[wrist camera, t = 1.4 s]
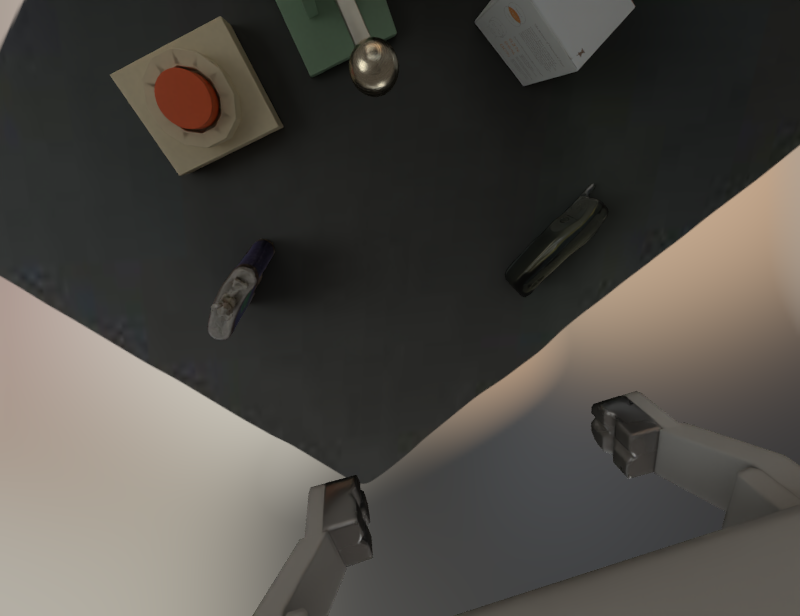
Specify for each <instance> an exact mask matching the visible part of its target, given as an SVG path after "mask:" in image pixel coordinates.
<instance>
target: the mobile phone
mask: <svg viewBox="0 0 800 616" xmlns="http://www.w3.org/2000/svg"><path fill="white" fill-rule="evenodd" d="M594 188H595V185H594V184H591V185H589V187H588V188H587V189H586V190H585V191H584V192H583V194H582V195H581V196H580V197H579V198H578V199H577V200H576V201H575V202H574V203H573V205H572V206H571V207H569V208H568V209H567V210H566V211H565V212H564V213H563V214H562V215H561V216H560V217H558V218H557V219H556V220H554V221H553V222H552V223H551V224H550V225H549V227H548V228H547V229H546V230H545V231H544V232H543V233H542V234H541V235H540V236H539V237H538V238H537V239H536V240H534V241H533V242H532V243H531V244H530V245H529V246H528V247H527V249H526V250H525V251H524V252H523V253H522V254H521V255H520V256H519V257H518V258H517V259H516V260H515V261H514V262H513V263H512V264H511V265H510V266H509V268H508V269H507V271H506V273H505V277H506V280H507V281H508V282H509V283H510V285H511V286H512V287H513V288H514V289H515V290H516V291H517V292H518V293H519V294H520V295H521V296H523V297H526V296H528V295H530V294H531V293H532V292H533V290H534V289H535V288H536V287H537V286H538V285H539V284H540V283H541V282H542V281H543V280H544V279H545V278H546V277H547V276H549V275H550V274H551V273H552V272H553V271H554V270H555V269H556V268H557V267H558V266H559V265H560V264H561V263H562V262H563V261H564V260H565V259H566V258H567V257H568V256H570V255H571V254H573V253H574V252H575V251H576V250H577V249H579V248H580V247H581V246H582V245H584V244H585V243H586V242H588V241H589V240H590V239H591V238H592V237H593V236H594V235H595V234H596V232H597V231H598V229H599V227H600V226H601V224H602V223H603V221H604V220H605V219H606V217H607V216H608V209H607V207H606V206H605V205H604V204H603V203H602V202H601V201H600V200H598V199H595V198H590V197H589V194H590V193H591V192H592V191H593V189H594Z"/></svg>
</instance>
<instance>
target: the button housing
mask: <svg viewBox="0 0 800 616" xmlns="http://www.w3.org/2000/svg"><path fill="white" fill-rule="evenodd" d="M169 68H183V69H186V70H189V71H191V72H194V73H196V74H198V75H200V76H202V77H203V78H204V79H206V80H207V81H208V82H209V84H210V85H211V86H212V88H213V89H214V91H215V93H216V95H217V98H218V103H219V112H218V116H217V118H216V120H215V121H214V123H213V124H212V125H210V126H209V127H207V128H203V129H186V128H182V127H179V126H177V125H175V124H173V123H172V122H171V121H169V120H168V119H167V118H166V117H165V116H164V115H163V113H162V112H161V110H160V109H159V107H158V105H157V102H156V99H155V93H154V87H155V82H156V80H157V78H158V76H159V75H160V74H161V73H162V72H163V71H165V70H167V69H169ZM110 76H111V77H112V79H113V80H114V82H115V83H116V85H117V86H118V88H119V89H120V90H121V92H122V93H123V95H124V96H125V98H126V99H127V101H128V102H129V103H130V105H131V106H132V108H133V109H134V111H135V112H136V113H137V115H138V116H139V118H140V119H141V121H142V122H143V124H144V125H145V126H146V128H147V129H148V131H149V132H150V134H151V135H152V137H153V138H154V139H155V141H156V142H157V144H158V145H159V147H160V148H161V150H162V151H163V152H164V154H165V155H166V157H167V158H168V160H169V161H170V163H171V164H172V165H173V167H174V168H175V170H176V171H177V173H178V174H179V175H180V176H181V175H185V174H189V173H192V172H194V171H196V170H198V169H200V168H202V167H204V166H206V165H208V164H210V163H212V162H214V161H216V160H218V159H220V158H222V157H224V156H226V155H228V154H230V153H232V152H234V151H236V150H238V149H240V148H242V147H244V146H246V145H248V144H250V143H252V142H255V141H257V140H259V139H261V138H263V137H265V136H267V135H269V134H271V133H273V132H275V131H277V130H279V129H281V128H283V125H282V123H281V121H280V119H279V117H278V115H277V113H276V111H275V109H274V107H273V105H272V103H271V101H270V100H269V98H268V96H267V94H266V92H265V90H264V88H263V86H262V84H261V82H260V80H259V78H258V76H257V75H256V73H255V71H254V69H253V67H252V65H251V63H250V61H249V59H248V57H247V55H246V53H245V51H244V50H243V48H242V46H241V44H240V42H239V40H238V38H237V36H236V34H235V32H234V30H233V28H232V27H231V25H230V24H229V23H228V22H227V21H226V20H224V19H223V18H222V17H221V16H220V17H218V18H216V19H214V20H212V21H210V22H208V23H207V24H205V25H203V26H201V27H199V28H197V29H195V30H193V31H191V32H190V33H188V34H186V35H184V36H182V37H180V38H178V39H176V40H175V41H173V42H171V43H169V44H167V45H165V46H163V47H161V48H159V49H158V50H156V51H154V52H152V53H150V54H148V55H146V56H144V57H143V58H141V59H139V60H137V61H135V62H133V63H131V64H129V65H127V66H126V67H124V68H122V69H120V70H118V71H116V72H114V73H112V74H111V75H110Z"/></svg>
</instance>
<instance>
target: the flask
mask: <svg viewBox="0 0 800 616" xmlns="http://www.w3.org/2000/svg"><path fill="white" fill-rule="evenodd" d="M274 253H275V249H274V246H273V243H271V242H270V241H268V240H266V239H260V240H257V241H256V242H255V243H254V244H253V245H252V246H251V247H250V249H249V251H248V252H247V253H246V255H245V257H244V258H243V259H242V260H241V262H240V263H239V264H238V265H237V266H236V267H235V269H234V270H233V271H232V272H231V273H230V275H229V276H228V278H227V279H226V280H225V282H224V283H223V284H222V286H221V288H220V290H219V292H218V294H217V296H216V298H215V301H214V303H213V305H212V306H211V308H212V309H211V313H210V317H209V321H208V333H209V334H210V335H211V336H212V337H213V338H215V339H216V340H225V339H228V338H229V337H230V336H231V334H232V333H233V331H234V329H235V327H236V325H237V324H238V322H239V320H240V318H241V317H242V315H243V313H244V312H245V310H246V308H247V307H248V305H249V304H250V303H251V301H252V298H253V296H254V294H255V293H254V292H255V289H256V287H257V285H259V283H260V281H261V279H262V273H263V271H264V270H265V269H266V267H267V264H268V263H269V261H270V260H271V258H272V257H273V254H274Z"/></svg>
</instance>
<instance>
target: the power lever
mask: <svg viewBox="0 0 800 616" xmlns="http://www.w3.org/2000/svg"><path fill="white" fill-rule="evenodd" d="M335 2H336V5H337V7H338V9H339V12H340V14H341V16H342V19H343V21H344V23H345V25H346V28H347V30H348V32H349V35H350V37H351V39H352V42H353V44H354V46H355V47H354V48H353V50H352V52H351V55H350V59H349V72H350V76H351V79H352V81H353V83H354V85H355V86H356V87H357V89H358V90H359V91H361V92H362V93H363V94H365V95H367V96H371V97H379V96H382V95H385V94H386V93H388V92H389V91H390V90H391V89H392V88H393V86H394V85H395V83H396V81H397V78H398V73H399V63H398V58H397V55H396V53H395V51H394V49H393V48H392V46H391V45H390V44H389V43H388V42H387V41H385V40H384V39H382V38H379V37H371V36H370V33H369V31H368V29H367V26H366V24H365V22H364V19H363V17H362V15H361V13H360V10H359V8H358V6H357V3H356V1H355V0H335Z"/></svg>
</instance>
